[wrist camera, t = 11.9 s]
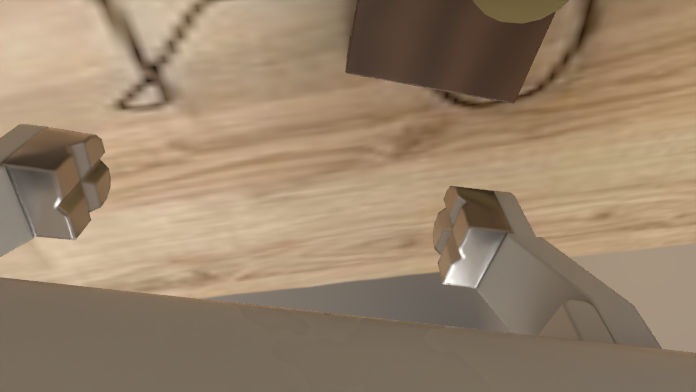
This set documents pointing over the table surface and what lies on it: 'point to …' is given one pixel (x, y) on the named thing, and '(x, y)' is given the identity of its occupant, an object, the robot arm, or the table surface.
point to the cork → (519, 9)
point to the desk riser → (443, 47)
